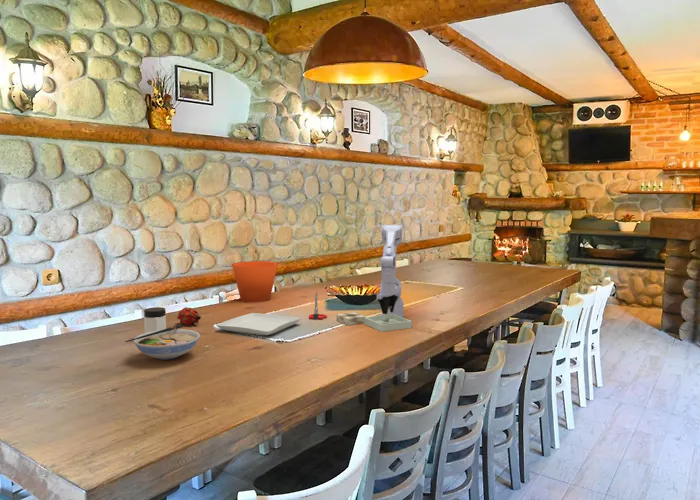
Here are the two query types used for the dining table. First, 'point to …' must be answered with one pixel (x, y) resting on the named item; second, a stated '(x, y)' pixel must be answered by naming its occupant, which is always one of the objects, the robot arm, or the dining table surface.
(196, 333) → the ramen bowl
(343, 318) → the pin block
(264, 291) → the flowerpot
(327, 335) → the dining table surface
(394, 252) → the robot arm
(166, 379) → the dining table surface
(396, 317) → the tray
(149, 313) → the jar
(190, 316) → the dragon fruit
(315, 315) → the tow hook
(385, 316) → the steel pin
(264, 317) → the square plate
